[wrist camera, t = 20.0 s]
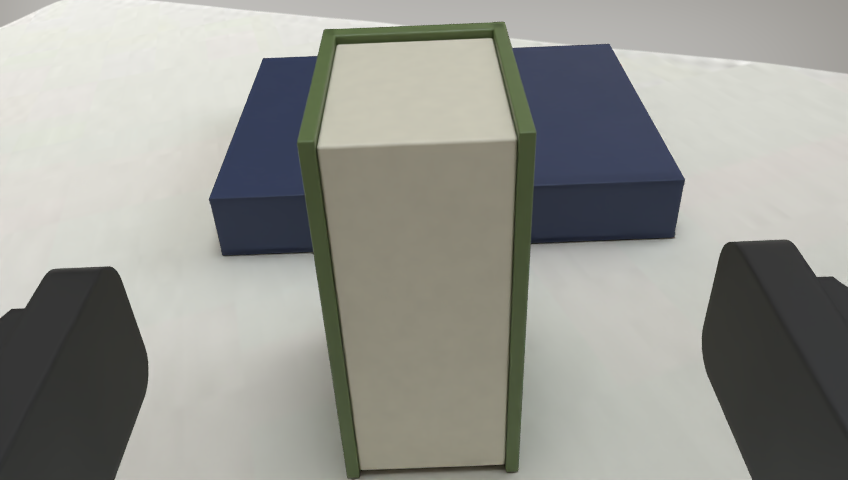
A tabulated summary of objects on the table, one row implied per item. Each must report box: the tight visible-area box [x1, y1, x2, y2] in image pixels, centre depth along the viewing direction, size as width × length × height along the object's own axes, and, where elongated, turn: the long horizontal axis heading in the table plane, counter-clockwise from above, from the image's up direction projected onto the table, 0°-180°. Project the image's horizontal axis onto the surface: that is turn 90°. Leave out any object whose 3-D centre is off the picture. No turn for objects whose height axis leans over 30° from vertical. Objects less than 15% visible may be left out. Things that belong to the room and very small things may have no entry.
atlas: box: [209, 44, 685, 255], centre depth 39 cm, size 20×15×3 cm
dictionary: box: [297, 22, 537, 478], centre depth 24 cm, size 5×7×12 cm
